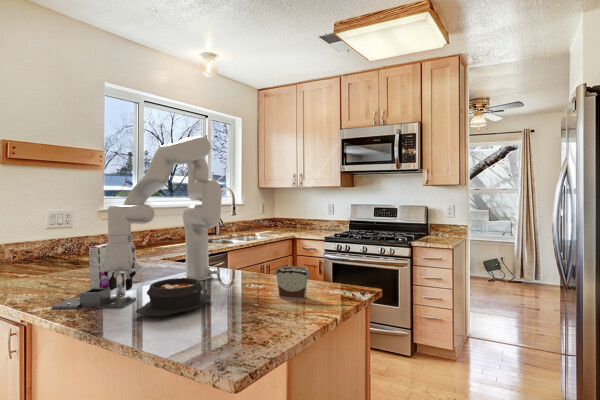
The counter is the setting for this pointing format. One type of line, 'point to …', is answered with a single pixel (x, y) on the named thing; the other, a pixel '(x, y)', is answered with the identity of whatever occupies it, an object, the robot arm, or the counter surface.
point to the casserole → (174, 297)
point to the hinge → (95, 300)
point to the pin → (120, 283)
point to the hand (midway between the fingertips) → (120, 288)
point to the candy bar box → (97, 266)
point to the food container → (292, 281)
